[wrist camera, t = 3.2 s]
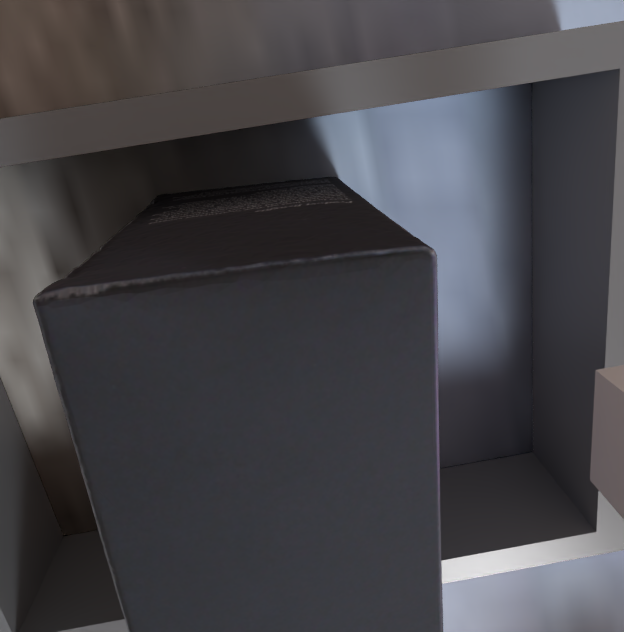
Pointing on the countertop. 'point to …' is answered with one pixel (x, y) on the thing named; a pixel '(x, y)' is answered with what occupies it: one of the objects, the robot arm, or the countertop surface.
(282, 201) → the small box
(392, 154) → the countertop surface
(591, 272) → the case
